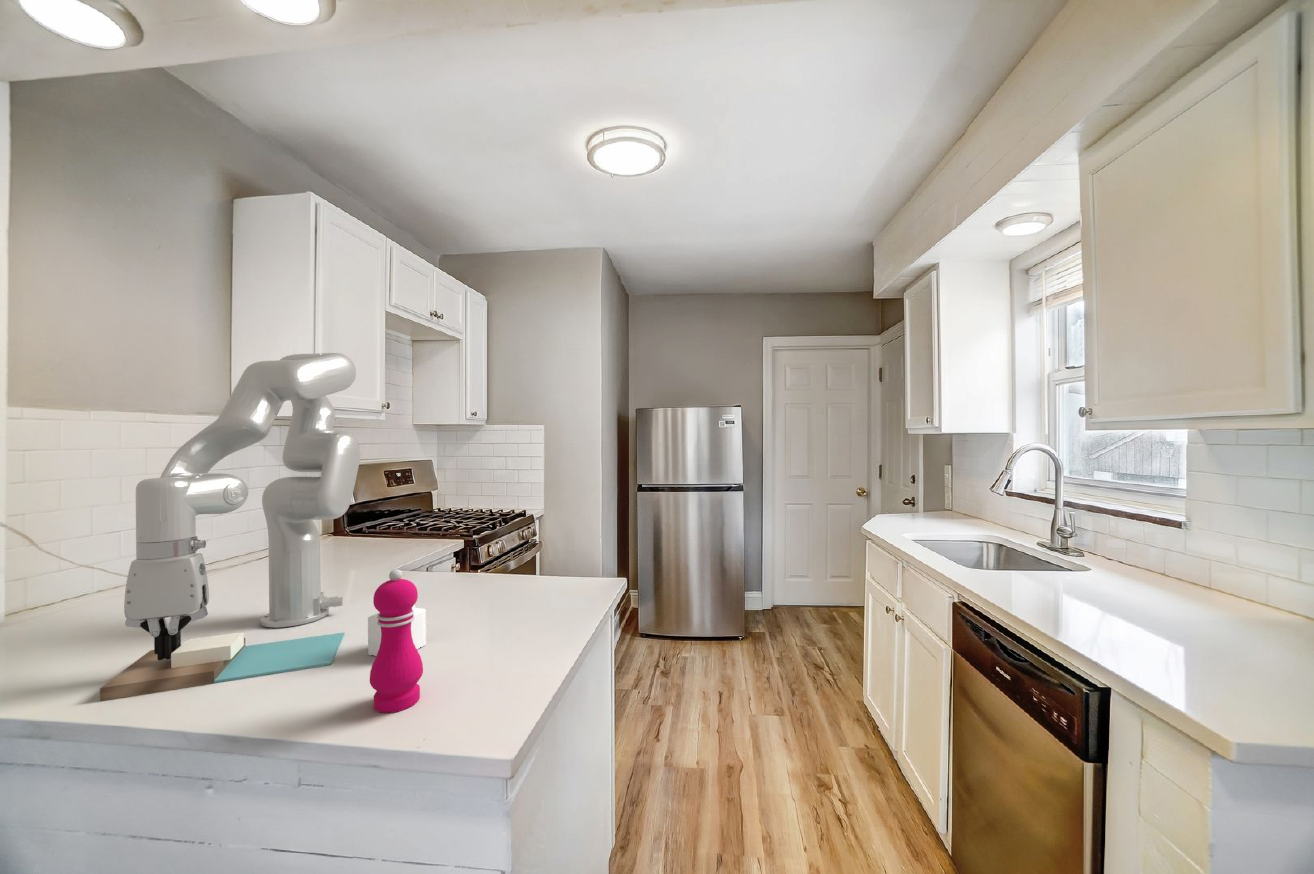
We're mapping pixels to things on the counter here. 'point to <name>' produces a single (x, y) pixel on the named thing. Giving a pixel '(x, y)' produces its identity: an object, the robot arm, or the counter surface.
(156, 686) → the board
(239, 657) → the mat
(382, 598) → the pepper mill
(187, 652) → the block
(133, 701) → the counter surface
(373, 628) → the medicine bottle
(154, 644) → the robot arm
